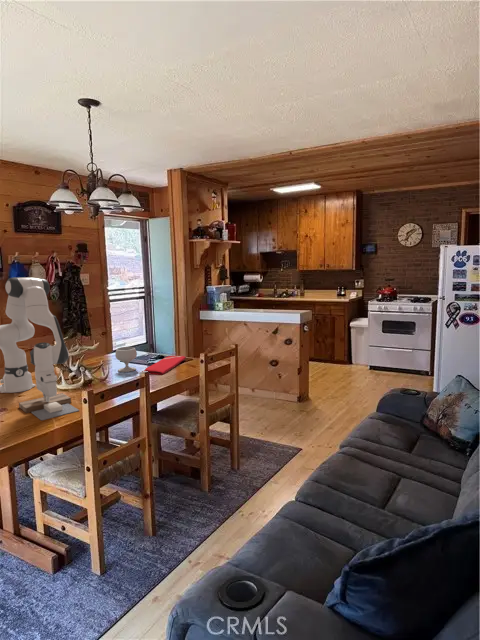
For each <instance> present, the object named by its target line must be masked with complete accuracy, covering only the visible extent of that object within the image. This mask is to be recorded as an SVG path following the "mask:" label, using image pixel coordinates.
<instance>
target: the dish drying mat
mask: <svg viewBox="0 0 480 640" xmlns="http://www.w3.org/2000/svg"><path fill="white" fill-rule="evenodd" d="M184 360H186V356H184V355H168V356H165V357H164V358H162V359H160V360H158V361H157V362H155V363H153V364H151V365H150V366H147V367H145V369H144V370H143V371H148V372H149V373H150V374H149V375H157V376H158V375H161V376H163V375H165V374H166V373H167V372H169V371H170V370H172V369H174V368H175V367H177V366H178V365H180V364H181V363H182V362H184Z"/></svg>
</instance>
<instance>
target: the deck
mask: <svg viewBox="0 0 480 640" xmlns="http://www.w3.org/2000/svg"><path fill="white" fill-rule="evenodd" d="M53 402H57V403H59V404H60V405H62V404H66V403H69V404H71V403H72V398H71V397H70V396H68V395H66V394H65V393H63V392H62V393H57V394H56V396H53V397H50V401H49V402H46V401H44V396H43V397H38V398H33V399H30V400H25V401H21V402H18V408H20V409H21V410H22V411H23V412H24V413H25V414H29V413H31V412H33V411H37V410H41V409H44V404H48V403H53Z"/></svg>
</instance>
